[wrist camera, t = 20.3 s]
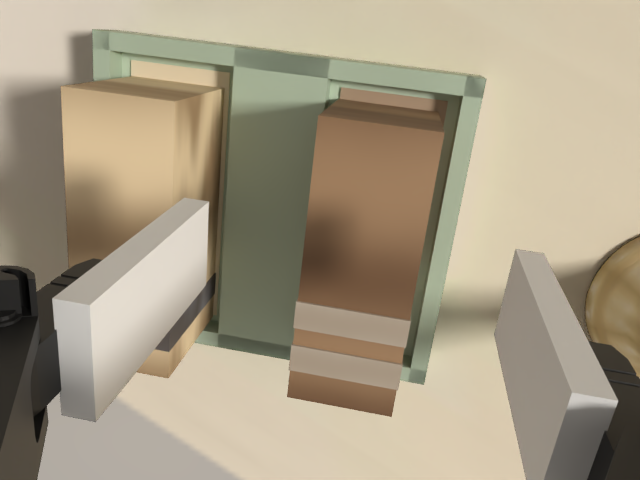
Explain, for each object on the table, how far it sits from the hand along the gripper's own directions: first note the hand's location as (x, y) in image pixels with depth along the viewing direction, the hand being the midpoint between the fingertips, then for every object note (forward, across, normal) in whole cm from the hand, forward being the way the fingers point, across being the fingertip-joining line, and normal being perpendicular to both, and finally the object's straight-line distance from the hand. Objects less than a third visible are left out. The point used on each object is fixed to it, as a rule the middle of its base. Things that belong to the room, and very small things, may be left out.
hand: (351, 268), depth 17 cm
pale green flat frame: (+12, -5, -3) cm, 14 cm away
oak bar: (+11, -10, -3) cm, 15 cm away
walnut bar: (+11, 0, -3) cm, 12 cm away
